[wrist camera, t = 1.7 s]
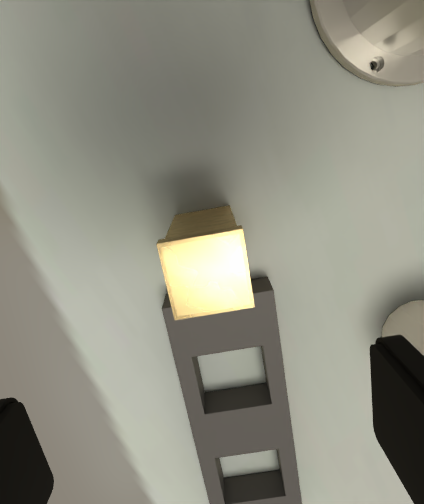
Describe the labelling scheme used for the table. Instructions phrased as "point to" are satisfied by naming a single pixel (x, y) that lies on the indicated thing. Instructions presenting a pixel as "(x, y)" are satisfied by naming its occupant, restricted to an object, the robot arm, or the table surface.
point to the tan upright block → (205, 264)
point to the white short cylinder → (407, 324)
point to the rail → (238, 400)
